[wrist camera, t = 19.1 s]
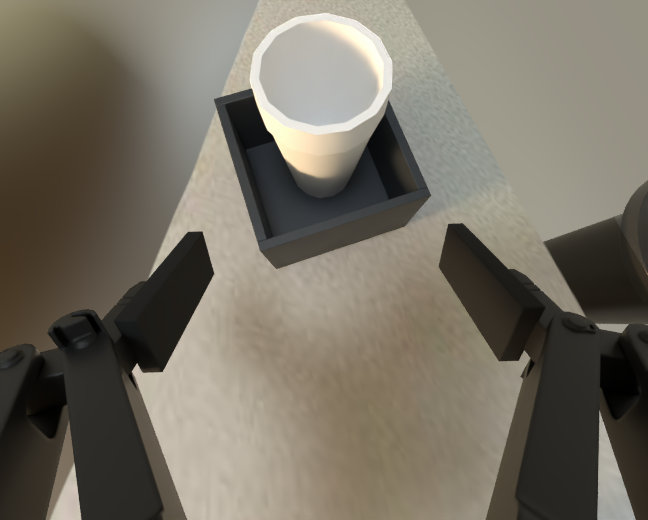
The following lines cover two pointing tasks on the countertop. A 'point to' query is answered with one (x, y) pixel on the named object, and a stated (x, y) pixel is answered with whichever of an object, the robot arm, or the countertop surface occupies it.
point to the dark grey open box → (312, 212)
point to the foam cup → (321, 96)
